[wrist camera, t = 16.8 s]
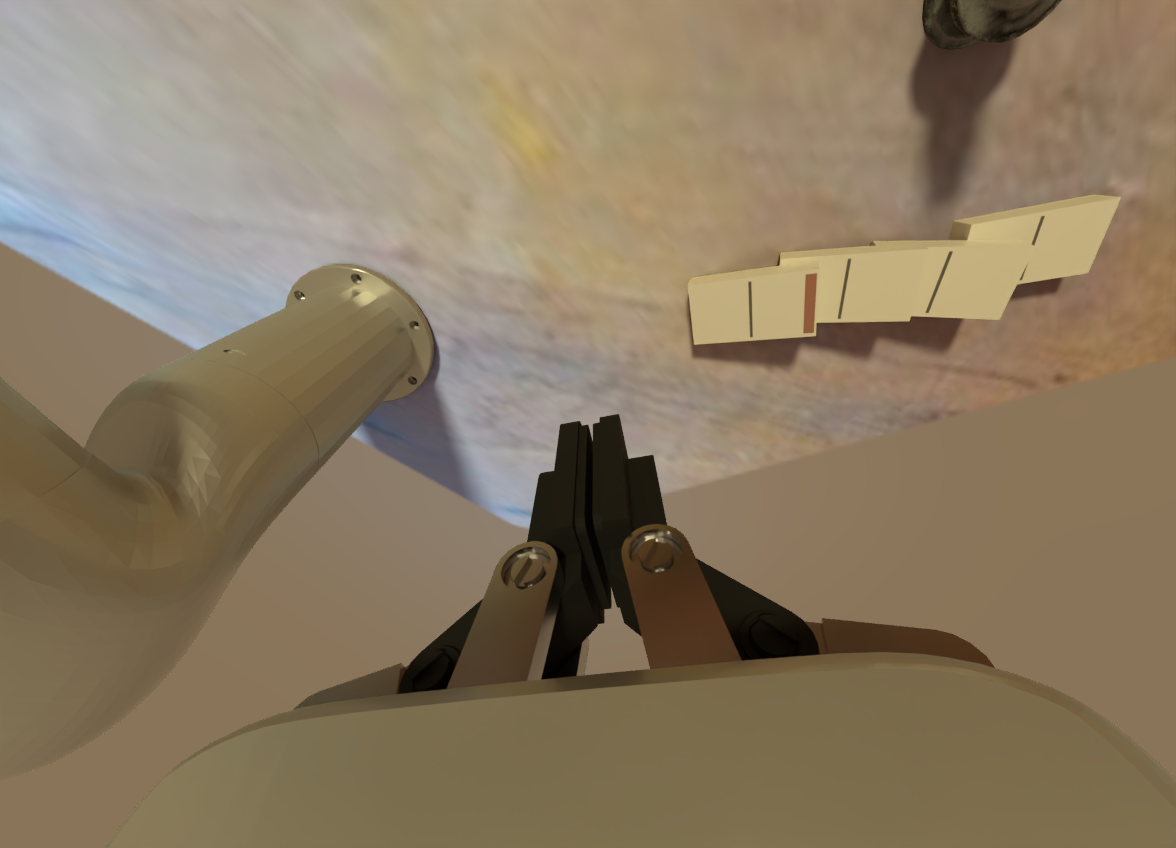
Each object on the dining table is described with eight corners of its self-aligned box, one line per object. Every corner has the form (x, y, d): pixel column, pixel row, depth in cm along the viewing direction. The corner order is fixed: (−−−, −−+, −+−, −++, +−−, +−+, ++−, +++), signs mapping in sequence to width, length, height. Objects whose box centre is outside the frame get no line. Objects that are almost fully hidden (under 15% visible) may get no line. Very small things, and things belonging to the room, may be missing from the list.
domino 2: (774, 323, 34) (909, 321, 30) (780, 259, 31) (929, 248, 28) (774, 314, 35) (903, 311, 32) (780, 252, 33) (921, 241, 29)
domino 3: (857, 314, 33) (999, 319, 30) (877, 247, 30) (1036, 246, 27) (853, 305, 35) (988, 310, 32) (872, 240, 32) (1021, 239, 29)
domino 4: (952, 295, 32) (1088, 272, 31) (971, 224, 29) (1121, 197, 28) (935, 287, 34) (1063, 266, 32) (952, 220, 31) (1092, 194, 30)
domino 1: (693, 344, 35) (815, 336, 31) (687, 285, 32) (819, 268, 29) (697, 334, 36) (814, 325, 33) (691, 277, 34) (817, 260, 30)
